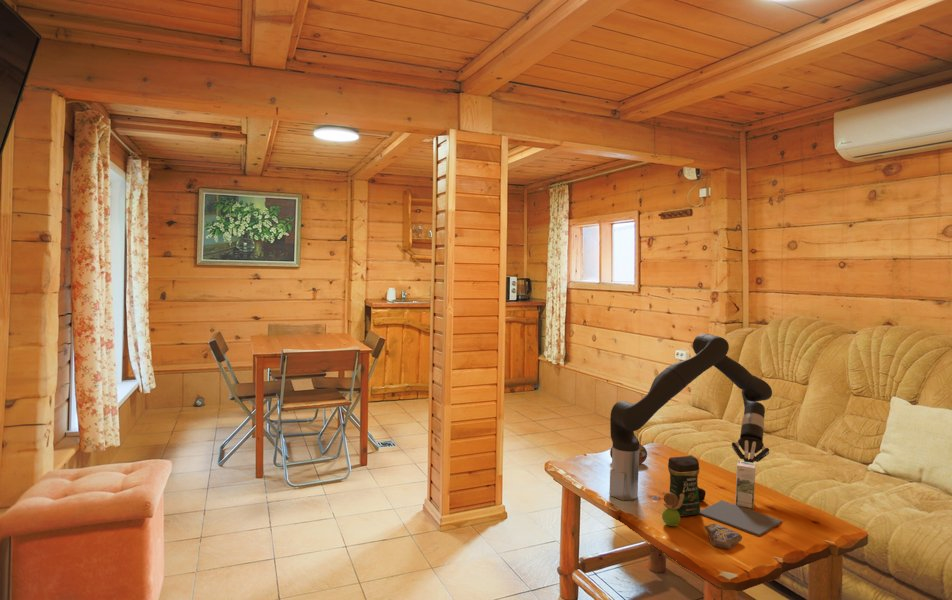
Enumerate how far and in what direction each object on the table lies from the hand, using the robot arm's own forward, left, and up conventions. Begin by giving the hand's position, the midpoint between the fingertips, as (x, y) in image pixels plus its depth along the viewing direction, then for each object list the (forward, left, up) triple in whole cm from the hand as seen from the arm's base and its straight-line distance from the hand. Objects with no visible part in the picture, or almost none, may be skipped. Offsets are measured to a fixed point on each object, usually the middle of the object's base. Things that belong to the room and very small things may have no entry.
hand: (747, 469), depth 201 cm
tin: (-5, +47, -10) cm, 48 cm away
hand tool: (-12, +18, -10) cm, 24 cm away
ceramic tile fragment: (-39, -11, -10) cm, 42 cm away
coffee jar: (-31, +6, -10) cm, 33 cm away
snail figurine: (-43, +3, -10) cm, 44 cm away
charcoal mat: (-20, -7, -10) cm, 23 cm away
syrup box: (-8, -3, -10) cm, 13 cm away
